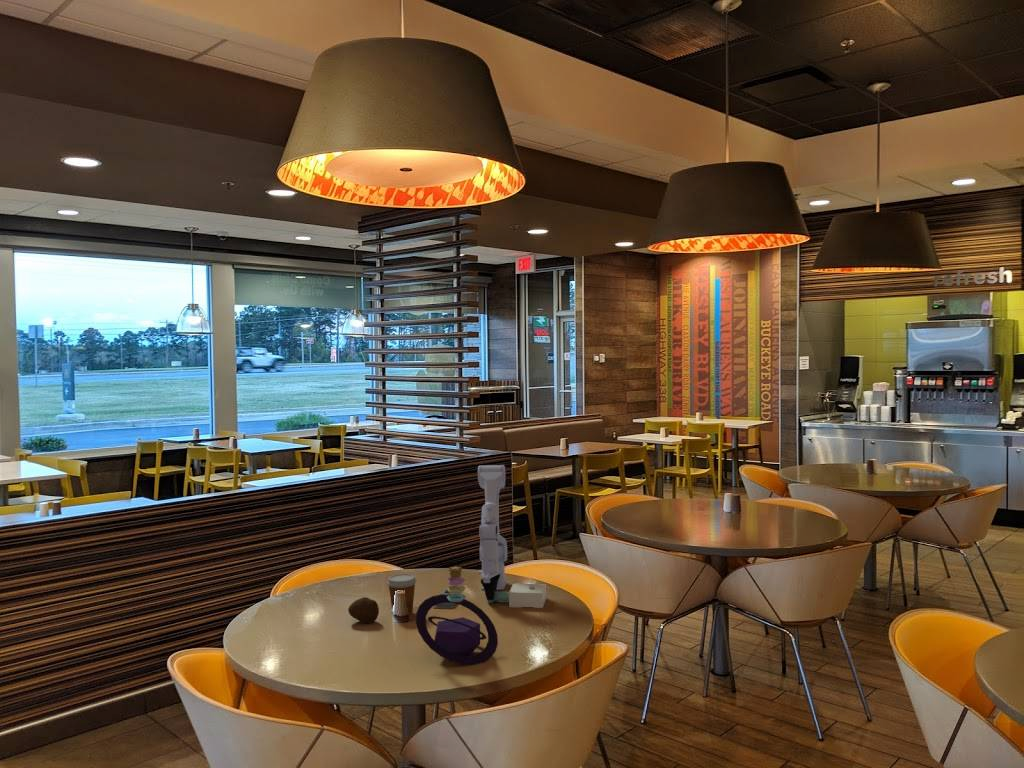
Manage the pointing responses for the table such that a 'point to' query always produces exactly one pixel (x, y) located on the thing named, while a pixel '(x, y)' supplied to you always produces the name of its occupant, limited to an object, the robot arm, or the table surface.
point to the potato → (364, 610)
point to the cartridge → (500, 596)
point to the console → (445, 605)
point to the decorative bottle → (457, 627)
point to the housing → (527, 595)
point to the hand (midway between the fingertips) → (491, 597)
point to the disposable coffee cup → (402, 588)
